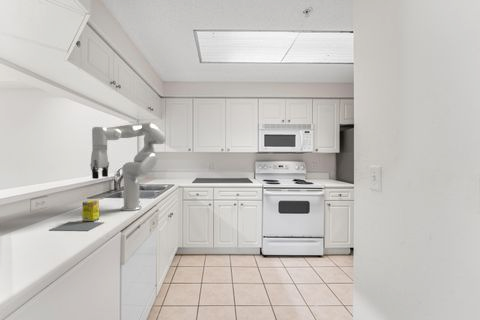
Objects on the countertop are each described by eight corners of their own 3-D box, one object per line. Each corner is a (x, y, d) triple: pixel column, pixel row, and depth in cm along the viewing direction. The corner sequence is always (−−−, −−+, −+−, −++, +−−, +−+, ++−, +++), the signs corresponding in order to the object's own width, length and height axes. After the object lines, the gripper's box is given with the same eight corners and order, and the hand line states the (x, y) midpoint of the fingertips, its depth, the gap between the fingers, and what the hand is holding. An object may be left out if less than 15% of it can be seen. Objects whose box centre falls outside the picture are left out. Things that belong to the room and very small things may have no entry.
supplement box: (93, 222, 133) (93, 202, 132) (82, 222, 132) (82, 202, 132) (99, 219, 138) (99, 200, 138) (88, 219, 138) (88, 200, 138)
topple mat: (69, 222, 132) (69, 221, 132) (104, 222, 132) (104, 222, 132) (48, 230, 118) (48, 229, 118) (87, 231, 118) (87, 230, 118)
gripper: (101, 148, 151) (102, 176, 152) (84, 148, 134) (84, 179, 135) (114, 148, 151) (114, 176, 152) (97, 148, 134) (98, 179, 135)
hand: (100, 177), depth 143 cm, fingers open, 9 cm apart
